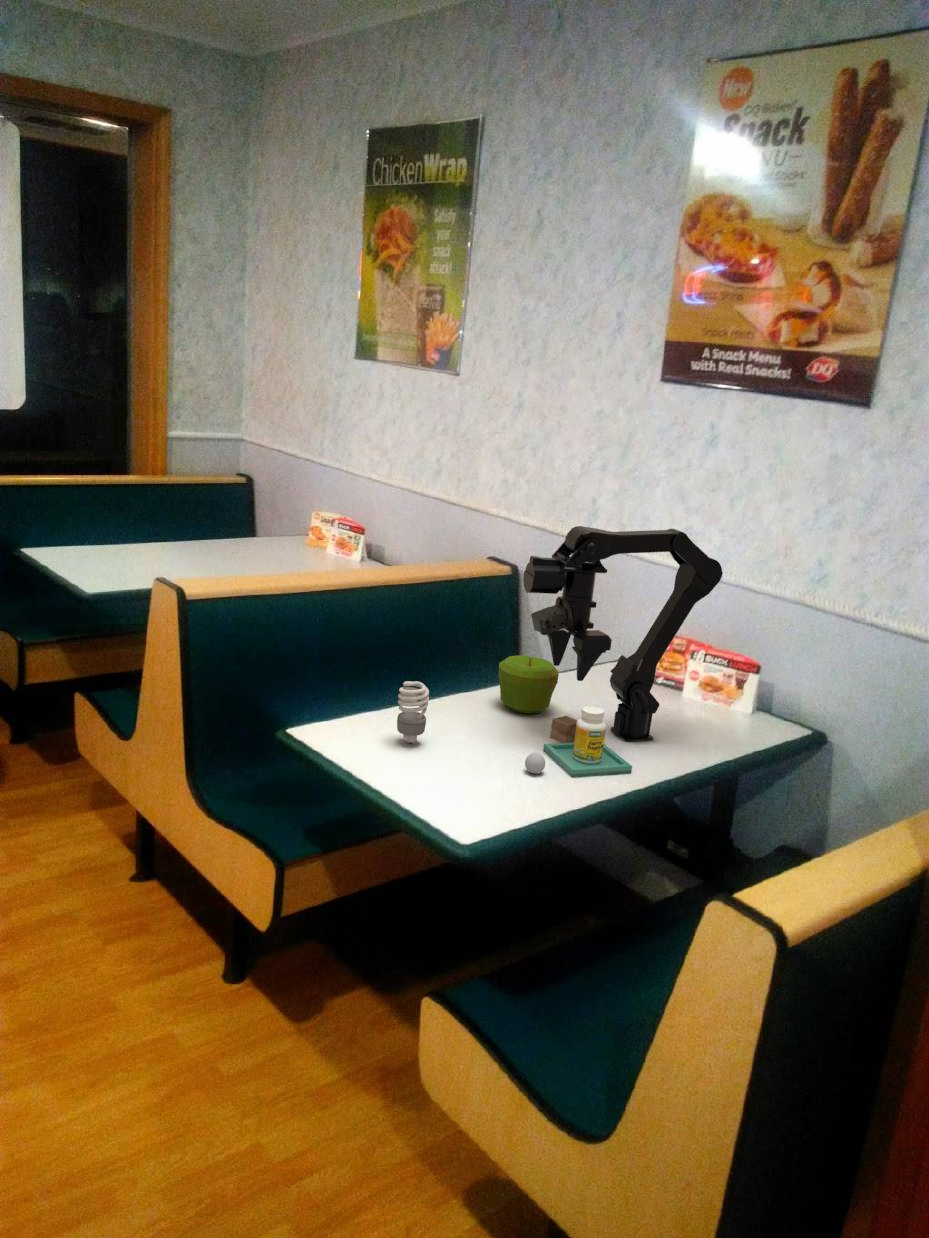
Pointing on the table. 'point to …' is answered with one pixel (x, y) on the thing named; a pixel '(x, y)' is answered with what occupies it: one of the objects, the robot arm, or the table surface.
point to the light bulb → (412, 710)
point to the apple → (527, 683)
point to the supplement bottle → (589, 736)
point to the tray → (574, 768)
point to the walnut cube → (563, 729)
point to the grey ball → (535, 763)
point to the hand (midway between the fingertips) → (567, 672)
